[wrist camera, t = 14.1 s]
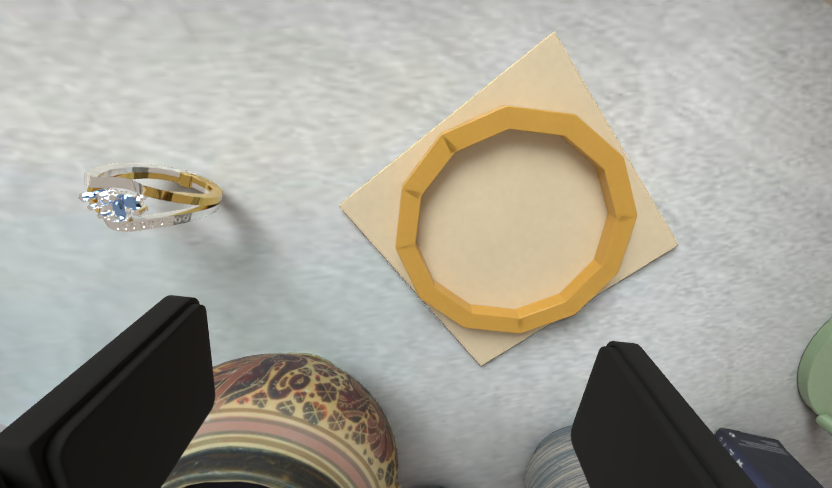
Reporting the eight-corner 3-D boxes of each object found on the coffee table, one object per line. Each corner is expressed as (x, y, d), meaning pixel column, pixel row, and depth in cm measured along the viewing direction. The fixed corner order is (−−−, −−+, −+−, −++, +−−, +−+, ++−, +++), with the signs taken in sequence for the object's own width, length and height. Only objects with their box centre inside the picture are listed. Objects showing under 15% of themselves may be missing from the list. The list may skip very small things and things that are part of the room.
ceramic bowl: (163, 365, 37) (6, 555, 25) (203, 239, 28) (-18, 445, 15) (385, 463, 42) (345, 664, 30) (484, 384, 32) (488, 631, 20)
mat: (552, 32, 24) (554, 31, 24) (675, 242, 29) (679, 245, 29) (339, 204, 28) (338, 205, 28) (480, 362, 34) (480, 366, 33)
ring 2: (549, 45, 24) (556, 42, 23) (667, 244, 29) (679, 251, 28) (347, 207, 28) (343, 213, 27) (481, 359, 33) (483, 370, 32)
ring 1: (139, 181, 28) (38, 213, 20) (145, 138, 27) (40, 155, 19) (236, 214, 29) (172, 256, 21) (245, 173, 28) (181, 203, 20)
